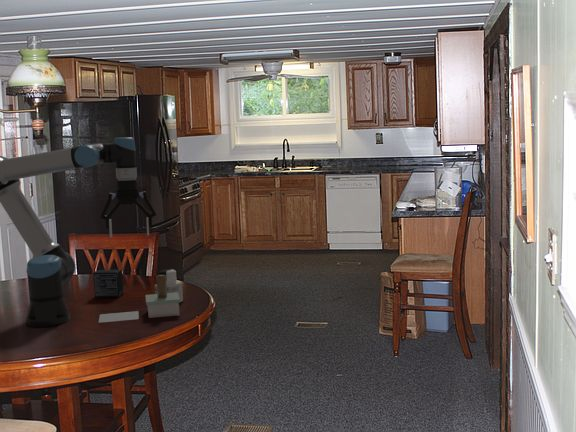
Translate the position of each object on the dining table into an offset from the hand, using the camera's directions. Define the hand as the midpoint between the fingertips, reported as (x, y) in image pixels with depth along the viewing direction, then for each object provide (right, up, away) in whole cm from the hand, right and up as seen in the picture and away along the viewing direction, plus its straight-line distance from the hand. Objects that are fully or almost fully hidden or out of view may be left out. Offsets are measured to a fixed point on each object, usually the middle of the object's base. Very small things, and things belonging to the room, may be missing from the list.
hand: (129, 236), depth 289 cm
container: (+13, -26, +12) cm, 32 cm away
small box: (-14, -25, +29) cm, 41 cm away
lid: (+13, -23, -5) cm, 27 cm away
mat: (-2, -29, -7) cm, 30 cm away
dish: (+13, -28, -4) cm, 32 cm away
